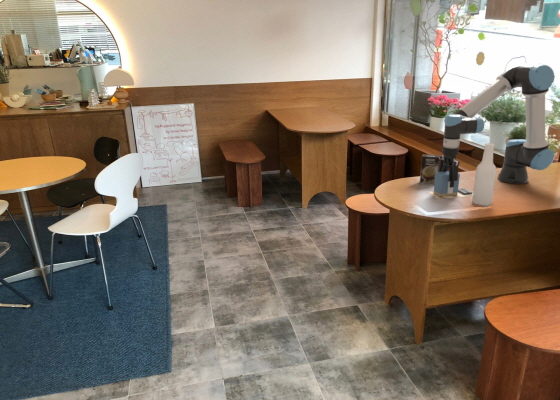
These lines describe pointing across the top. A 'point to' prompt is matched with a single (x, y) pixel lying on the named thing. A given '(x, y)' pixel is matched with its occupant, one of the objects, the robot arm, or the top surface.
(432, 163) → the coffee box
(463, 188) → the graphite chip
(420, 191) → the top surface
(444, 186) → the block
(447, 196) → the board
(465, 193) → the graphite chip
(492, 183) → the alcohol
